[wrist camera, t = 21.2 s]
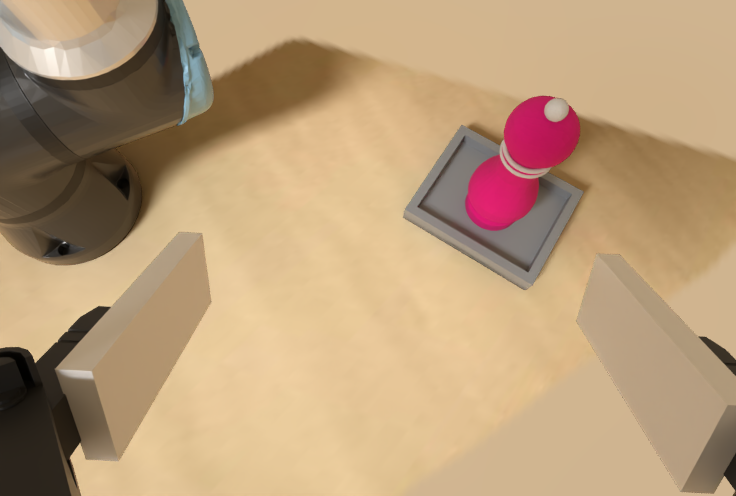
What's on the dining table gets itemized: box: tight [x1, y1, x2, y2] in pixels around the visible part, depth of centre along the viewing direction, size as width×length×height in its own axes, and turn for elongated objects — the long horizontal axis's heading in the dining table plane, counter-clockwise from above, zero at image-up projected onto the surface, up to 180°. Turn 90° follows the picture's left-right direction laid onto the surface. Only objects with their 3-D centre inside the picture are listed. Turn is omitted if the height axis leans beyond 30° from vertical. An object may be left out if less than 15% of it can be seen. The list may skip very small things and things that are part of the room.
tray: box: [403, 125, 584, 290], centre depth 54 cm, size 16×13×2 cm
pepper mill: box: [465, 96, 580, 231], centre depth 45 cm, size 7×7×20 cm
